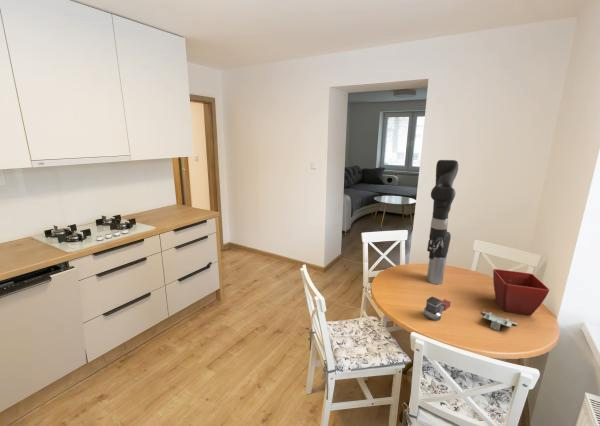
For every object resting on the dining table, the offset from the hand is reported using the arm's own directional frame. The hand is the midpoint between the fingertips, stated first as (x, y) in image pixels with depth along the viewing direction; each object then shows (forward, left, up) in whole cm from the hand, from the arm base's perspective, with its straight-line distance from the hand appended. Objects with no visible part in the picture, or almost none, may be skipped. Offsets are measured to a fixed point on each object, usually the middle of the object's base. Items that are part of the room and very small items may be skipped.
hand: (435, 256), depth 153 cm
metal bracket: (-11, +29, -29) cm, 43 cm away
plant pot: (-35, +30, -28) cm, 54 cm away
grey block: (+8, +6, -25) cm, 27 cm away
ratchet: (+3, +7, -28) cm, 29 cm away
